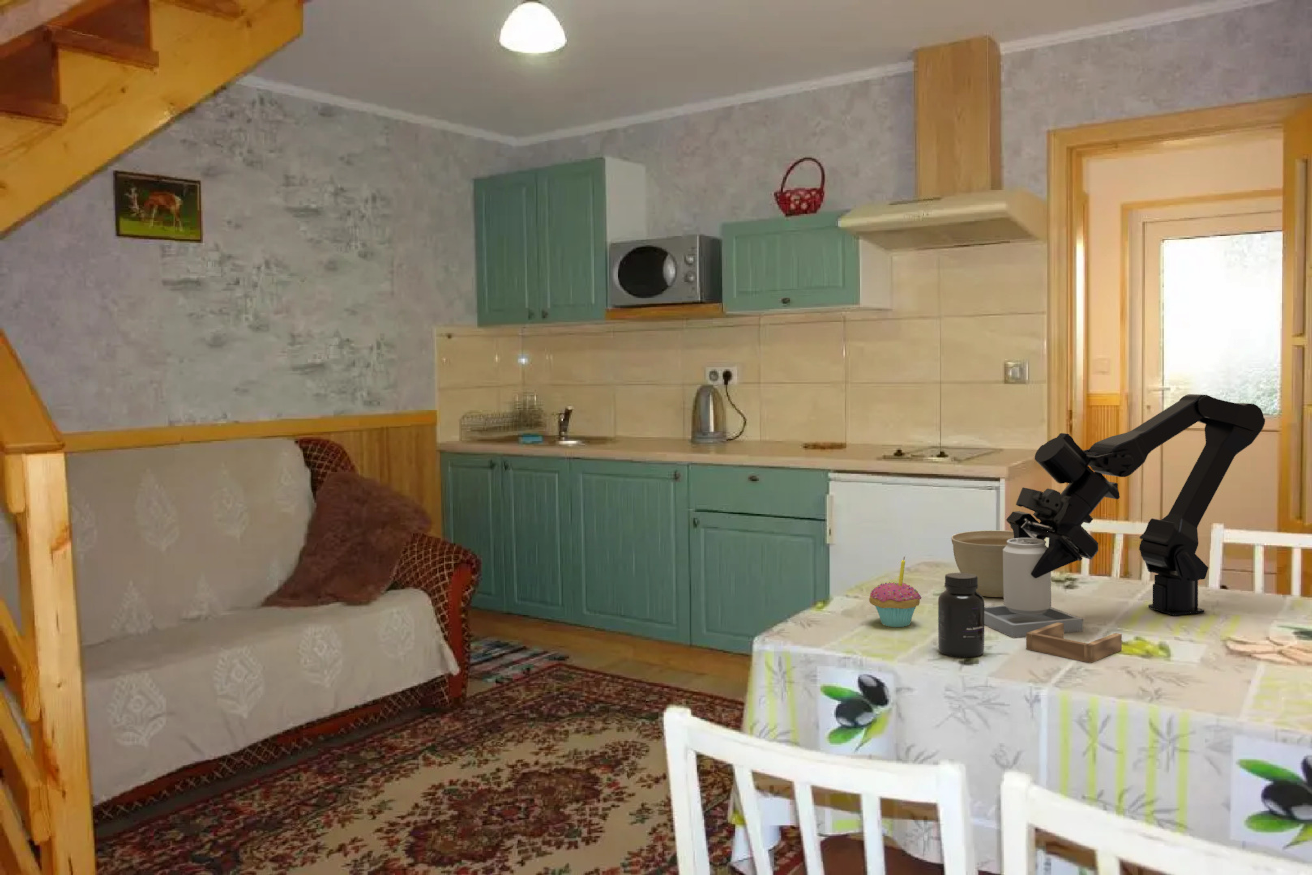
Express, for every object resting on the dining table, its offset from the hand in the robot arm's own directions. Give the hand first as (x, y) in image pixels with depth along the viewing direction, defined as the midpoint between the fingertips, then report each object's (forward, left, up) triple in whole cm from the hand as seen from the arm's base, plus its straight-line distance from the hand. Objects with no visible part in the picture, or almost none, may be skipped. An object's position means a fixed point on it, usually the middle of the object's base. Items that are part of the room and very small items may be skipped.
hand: (1019, 571), depth 171 cm
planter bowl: (-9, -23, -9) cm, 26 cm away
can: (-1, 0, -7) cm, 7 cm away
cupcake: (+19, -8, -9) cm, 23 cm away
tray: (-1, 0, -9) cm, 9 cm away
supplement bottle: (+17, +11, -9) cm, 22 cm away
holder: (0, +15, -9) cm, 18 cm away
